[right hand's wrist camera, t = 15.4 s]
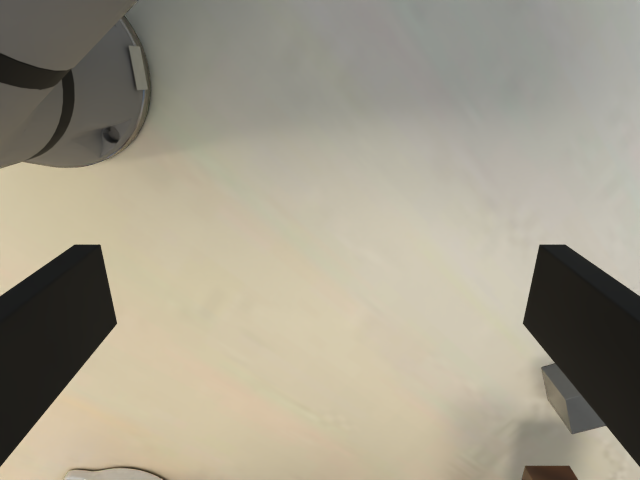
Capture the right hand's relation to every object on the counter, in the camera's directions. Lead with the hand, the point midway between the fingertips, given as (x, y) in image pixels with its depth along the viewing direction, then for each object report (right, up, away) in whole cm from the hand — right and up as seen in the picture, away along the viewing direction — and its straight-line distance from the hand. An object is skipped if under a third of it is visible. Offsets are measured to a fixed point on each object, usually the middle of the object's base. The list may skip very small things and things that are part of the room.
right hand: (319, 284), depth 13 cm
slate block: (+28, -14, +34) cm, 47 cm away
